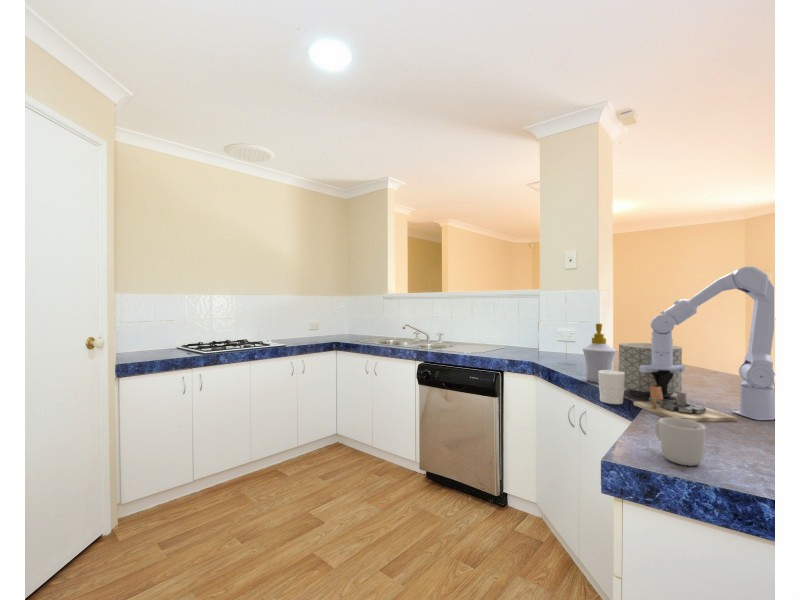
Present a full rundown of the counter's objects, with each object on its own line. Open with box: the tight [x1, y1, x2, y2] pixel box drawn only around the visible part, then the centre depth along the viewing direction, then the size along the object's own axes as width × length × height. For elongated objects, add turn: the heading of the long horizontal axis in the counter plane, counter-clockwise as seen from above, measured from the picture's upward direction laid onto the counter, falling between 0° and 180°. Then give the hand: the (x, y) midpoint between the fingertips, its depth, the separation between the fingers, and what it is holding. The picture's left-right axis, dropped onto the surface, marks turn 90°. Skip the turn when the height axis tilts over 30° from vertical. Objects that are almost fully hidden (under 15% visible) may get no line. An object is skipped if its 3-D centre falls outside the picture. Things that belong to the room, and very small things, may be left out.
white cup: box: [598, 370, 625, 405], centre depth 130 cm, size 8×8×10 cm
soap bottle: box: [581, 323, 617, 384], centre depth 164 cm, size 13×13×25 cm
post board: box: [633, 391, 738, 422], centre depth 118 cm, size 18×18×6 cm
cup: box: [654, 417, 707, 467], centre depth 82 cm, size 11×8×8 cm
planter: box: [618, 342, 683, 399], centre depth 139 cm, size 19×19×18 cm
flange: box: [648, 385, 707, 413], centre depth 120 cm, size 15×11×5 cm
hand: (662, 394), depth 126 cm, fingers closed, pressing on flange
